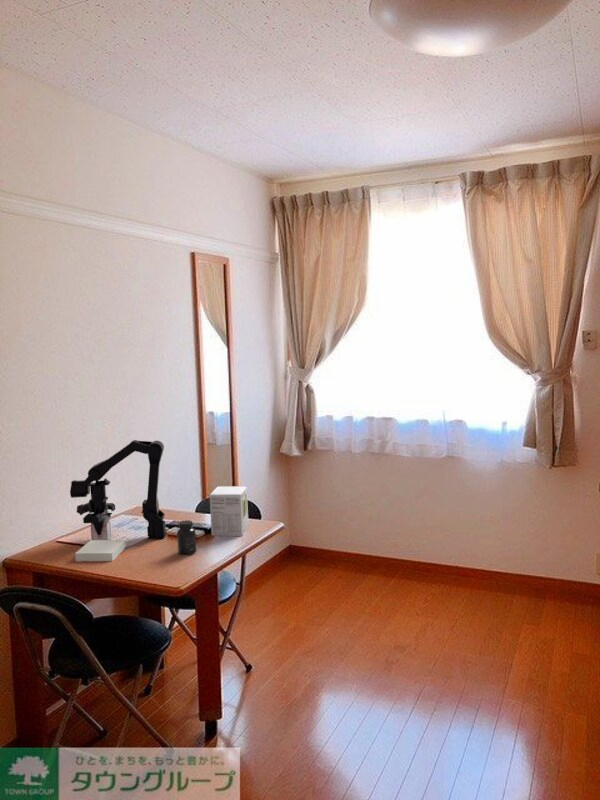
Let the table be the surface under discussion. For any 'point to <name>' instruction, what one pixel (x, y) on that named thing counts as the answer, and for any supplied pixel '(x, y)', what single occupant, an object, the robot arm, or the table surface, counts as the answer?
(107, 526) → the white paper carton
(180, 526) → the supplement bottle
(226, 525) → the supplement box
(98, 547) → the plinth
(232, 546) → the table surface
